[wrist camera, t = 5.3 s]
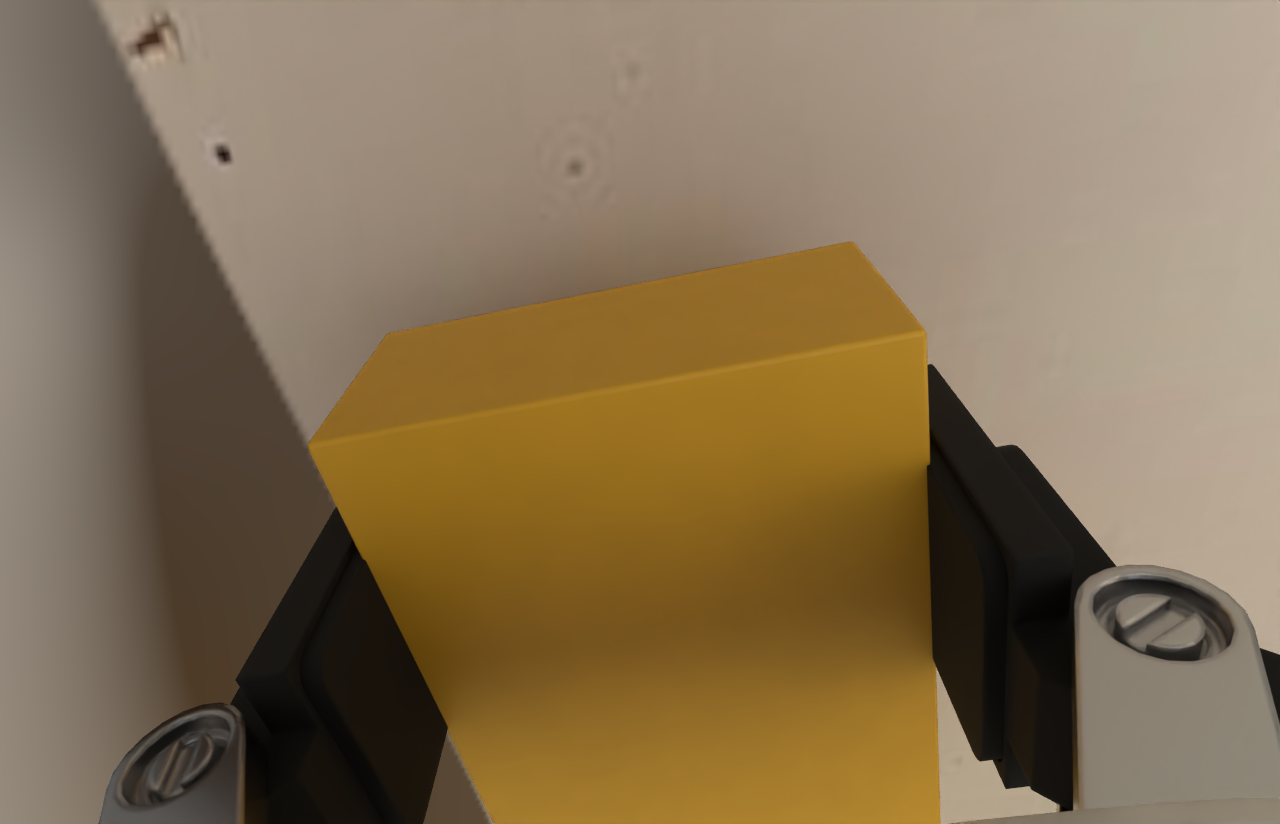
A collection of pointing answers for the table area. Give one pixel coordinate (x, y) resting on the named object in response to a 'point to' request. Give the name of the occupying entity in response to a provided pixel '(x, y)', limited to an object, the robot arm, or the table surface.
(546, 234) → the table surface
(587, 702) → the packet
